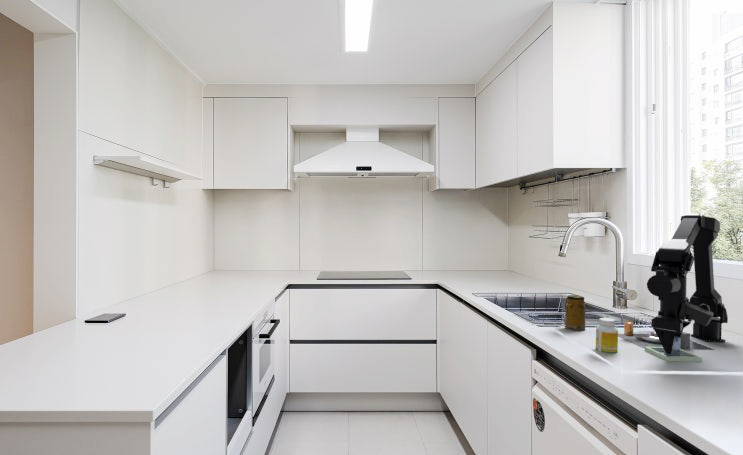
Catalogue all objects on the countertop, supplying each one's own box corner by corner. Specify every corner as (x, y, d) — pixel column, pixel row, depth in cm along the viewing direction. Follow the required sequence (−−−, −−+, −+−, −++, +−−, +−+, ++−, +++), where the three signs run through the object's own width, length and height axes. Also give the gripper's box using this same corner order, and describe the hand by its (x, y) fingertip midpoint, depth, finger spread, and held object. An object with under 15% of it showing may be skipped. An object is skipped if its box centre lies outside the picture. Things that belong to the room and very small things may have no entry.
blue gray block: (665, 354, 114) (665, 334, 114) (681, 357, 112) (681, 337, 112) (662, 356, 112) (662, 336, 112) (678, 360, 109) (679, 339, 109)
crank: (661, 333, 133) (662, 319, 133) (687, 343, 122) (687, 327, 122) (614, 333, 133) (614, 318, 133) (635, 343, 122) (636, 327, 122)
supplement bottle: (591, 351, 118) (591, 317, 118) (605, 349, 119) (605, 316, 119) (607, 357, 113) (608, 322, 112) (622, 355, 114) (622, 320, 114)
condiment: (570, 327, 145) (570, 293, 144) (595, 332, 138) (595, 297, 138) (560, 331, 140) (560, 296, 140) (585, 336, 133) (586, 299, 133)
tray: (676, 353, 116) (676, 347, 116) (701, 364, 107) (701, 357, 107) (644, 353, 116) (644, 346, 116) (666, 363, 107) (667, 357, 107)
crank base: (674, 337, 133) (674, 321, 133) (715, 352, 117) (715, 335, 117) (612, 336, 134) (613, 320, 134) (644, 351, 118) (644, 334, 118)
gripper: (705, 301, 99) (704, 365, 99) (716, 293, 112) (715, 349, 112) (651, 295, 107) (650, 354, 107) (666, 288, 120) (665, 341, 120)
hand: (672, 350), depth 112 cm, fingers open, 9 cm apart
